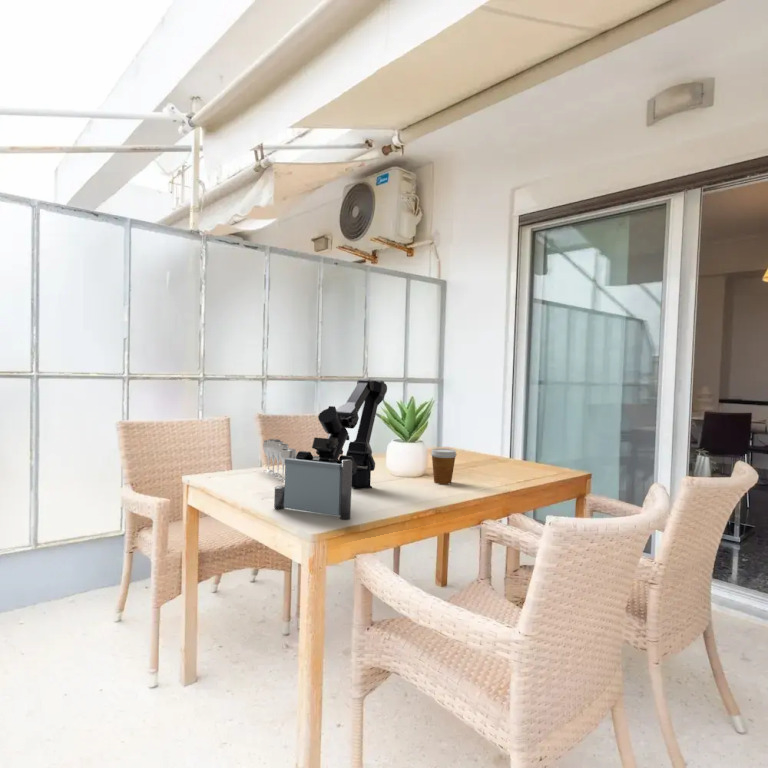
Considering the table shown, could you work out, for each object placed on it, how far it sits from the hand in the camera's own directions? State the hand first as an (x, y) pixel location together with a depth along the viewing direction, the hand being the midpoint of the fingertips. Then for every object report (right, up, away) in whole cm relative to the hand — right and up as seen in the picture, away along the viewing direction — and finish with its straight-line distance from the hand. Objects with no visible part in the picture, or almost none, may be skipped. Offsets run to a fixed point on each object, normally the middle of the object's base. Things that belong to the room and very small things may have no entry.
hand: (316, 485), depth 152 cm
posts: (-1, -6, -6) cm, 9 cm away
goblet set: (-19, -5, +40) cm, 45 cm away
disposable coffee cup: (+42, -7, +40) cm, 58 cm away
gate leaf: (0, -6, -6) cm, 8 cm away
